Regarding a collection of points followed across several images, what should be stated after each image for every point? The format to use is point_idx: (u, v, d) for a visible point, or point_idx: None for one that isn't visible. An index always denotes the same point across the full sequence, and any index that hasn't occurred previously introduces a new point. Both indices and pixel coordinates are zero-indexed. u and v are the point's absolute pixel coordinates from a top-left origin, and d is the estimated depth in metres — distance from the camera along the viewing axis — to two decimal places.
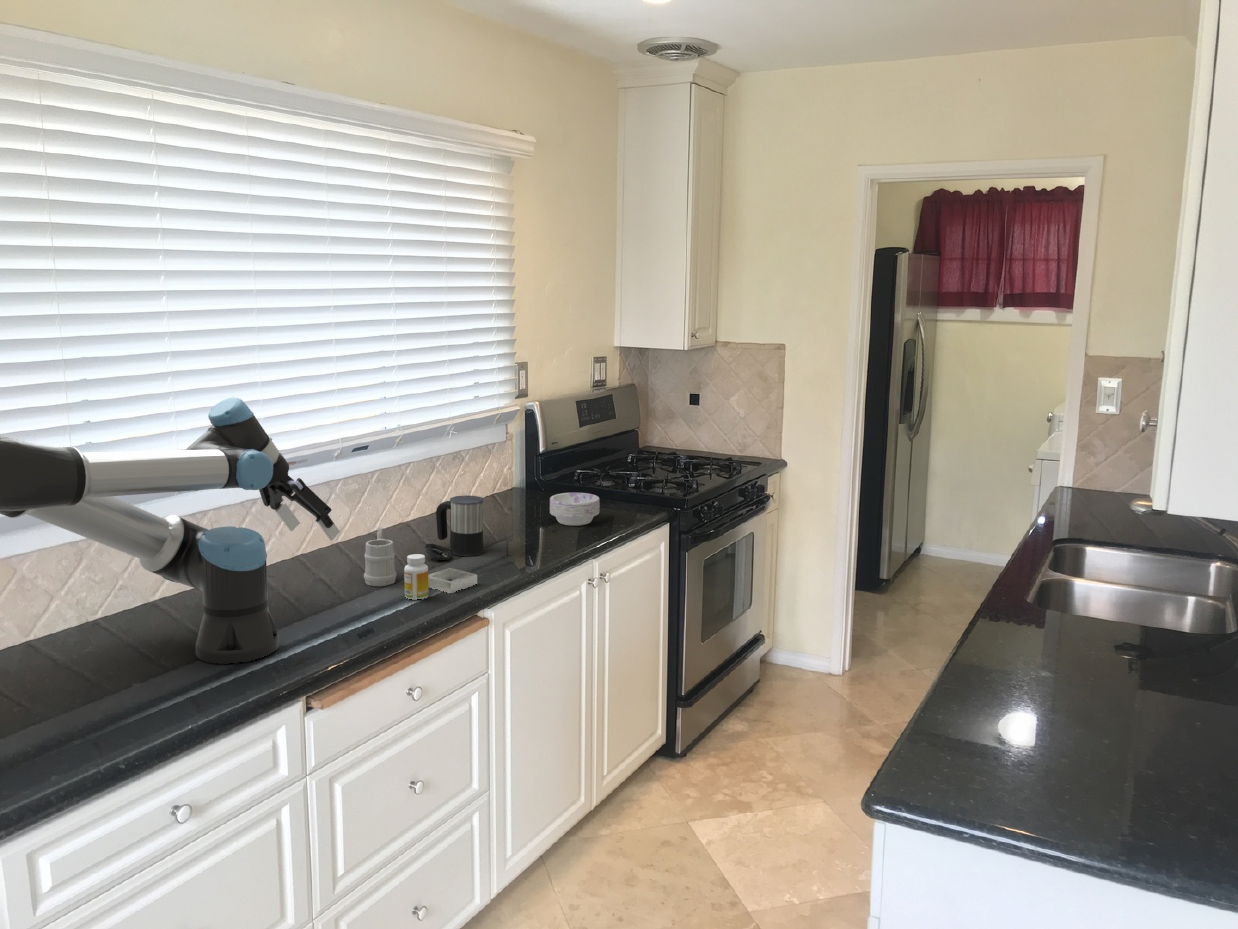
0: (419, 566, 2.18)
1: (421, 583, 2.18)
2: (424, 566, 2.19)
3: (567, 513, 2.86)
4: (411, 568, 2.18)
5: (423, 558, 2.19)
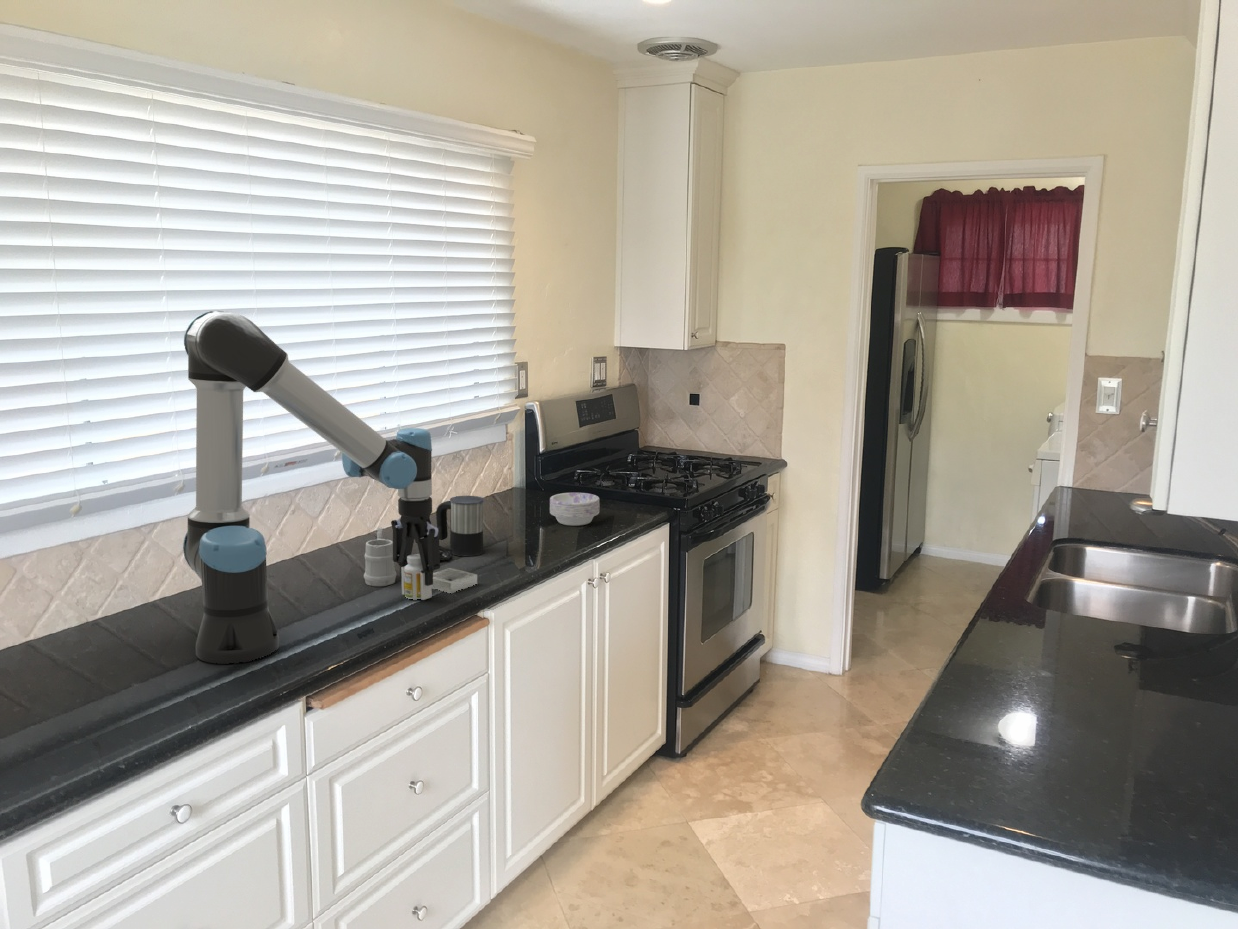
0: (419, 566, 2.18)
1: None
2: None
3: (567, 513, 2.86)
4: (411, 568, 2.18)
5: None
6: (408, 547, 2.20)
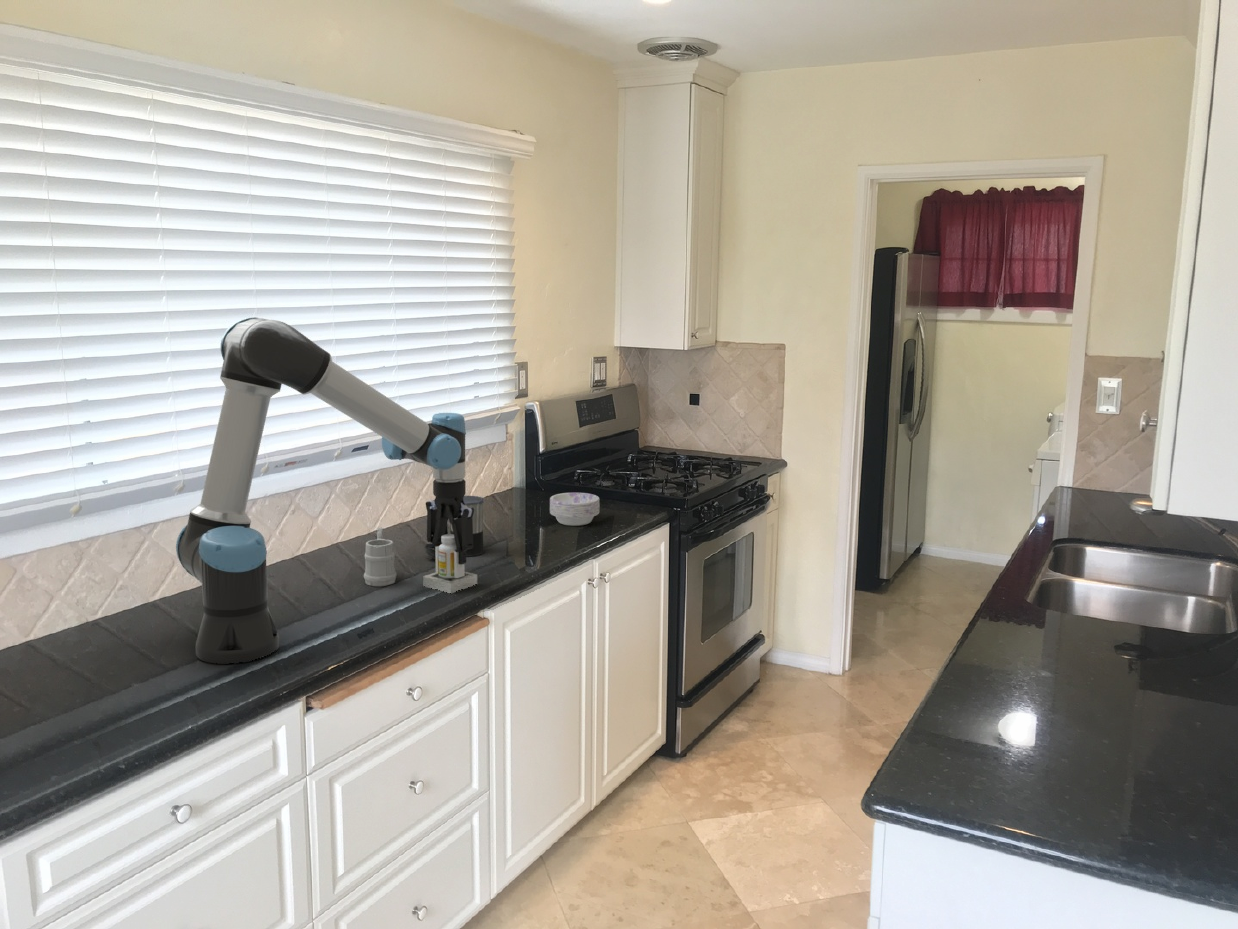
0: (452, 545, 2.27)
1: None
2: None
3: (567, 513, 2.86)
4: (445, 547, 2.26)
5: None
6: (442, 527, 2.29)
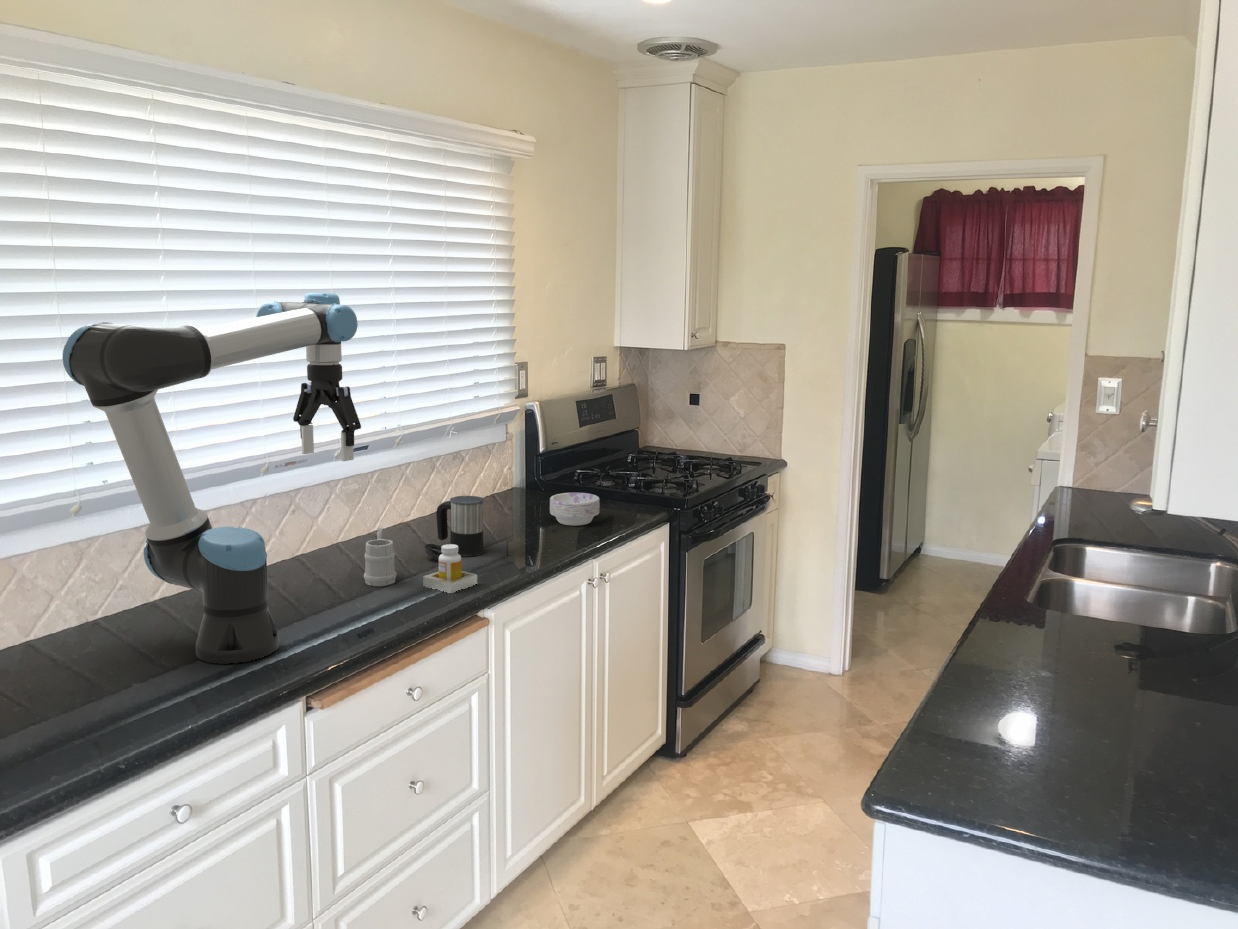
0: (452, 555, 2.27)
1: (455, 572, 2.27)
2: (457, 556, 2.28)
3: (567, 513, 2.86)
4: (445, 557, 2.27)
5: (457, 548, 2.28)
6: (312, 411, 2.19)
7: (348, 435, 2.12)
